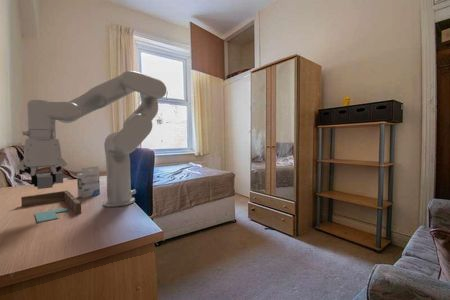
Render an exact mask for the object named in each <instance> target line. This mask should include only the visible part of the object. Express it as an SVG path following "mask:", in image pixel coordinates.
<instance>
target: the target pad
mask: <svg viewBox="0 0 450 300" xmlns="http://www.w3.org/2000/svg"><path fill="white" fill-rule="evenodd" d="M68 211H69V210H68V208H67V207H63V208H57V209H53V210H47V211H42V212H41V211H40V212H36V213H34V215H35V220H36V222H37V224H39V223H44V222H49V221H53V220H57V219H59V216H58V215H57V214H60V213H65V212H68Z"/></svg>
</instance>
